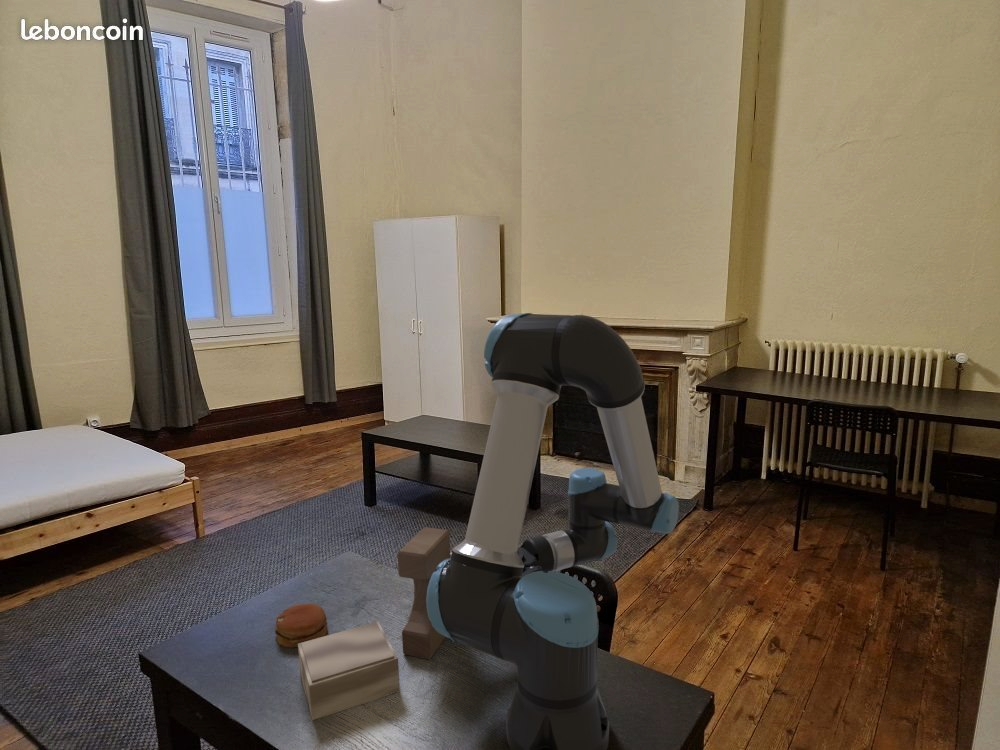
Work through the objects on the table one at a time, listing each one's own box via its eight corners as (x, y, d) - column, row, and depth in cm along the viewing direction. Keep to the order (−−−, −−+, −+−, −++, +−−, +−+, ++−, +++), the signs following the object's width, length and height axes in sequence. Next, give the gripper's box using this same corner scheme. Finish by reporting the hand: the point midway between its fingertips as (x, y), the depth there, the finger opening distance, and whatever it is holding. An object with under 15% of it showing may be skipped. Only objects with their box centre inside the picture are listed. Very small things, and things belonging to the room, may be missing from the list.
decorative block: (429, 661, 108) (424, 555, 105) (401, 655, 110) (395, 551, 107) (454, 626, 119) (451, 529, 115) (428, 621, 121) (423, 525, 117)
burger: (337, 634, 117) (335, 611, 117) (291, 656, 111) (288, 632, 110) (312, 614, 124) (310, 593, 124) (267, 634, 118) (265, 612, 117)
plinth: (399, 691, 101) (397, 656, 100) (312, 720, 95) (309, 683, 94) (380, 651, 111) (378, 619, 110) (300, 675, 105) (297, 642, 104)
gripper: (580, 599, 114) (475, 631, 105) (518, 546, 136) (427, 568, 127) (580, 562, 112) (474, 590, 103) (517, 514, 134) (425, 534, 125)
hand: (448, 578), depth 115 cm, fingers open, 13 cm apart
